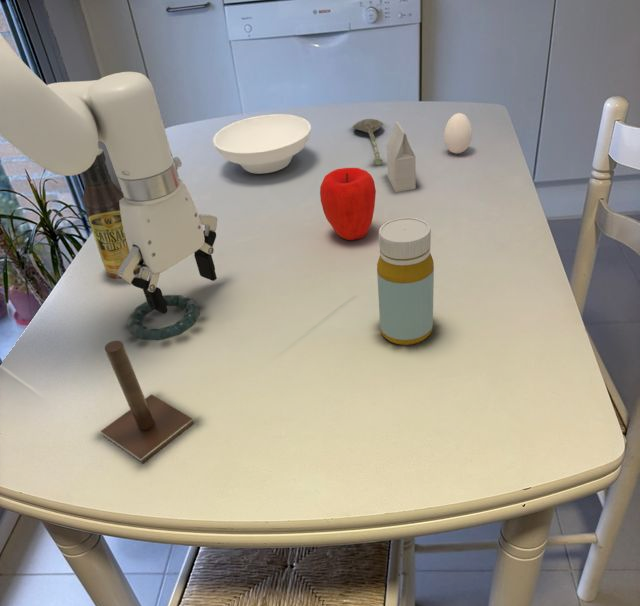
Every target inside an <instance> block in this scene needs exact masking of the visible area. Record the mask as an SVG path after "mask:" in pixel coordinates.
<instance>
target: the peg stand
mask: <svg viewBox="0 0 640 606" xmlns="http://www.w3.org/2000/svg"><path fill="white" fill-rule="evenodd" d="M104 352H105V354H106V356H107V358H108V361H109V363H110V365H111V367H112V370H113V372H114V374H115V376H116V379H117V382H118V384H119V386H120V389H121V391H122V393H123V395H124V398H125V401H126V403H127V405H128V407H129V410H128V411H126V412H125V413H123V414H122V415H121V416H119V417H118V418H117V419H115V420H114V421H112V422H111V423H109V425H107V426H105V427H104V428H103V429H102V430H100V432H101V433H102V437H103V438H105V440H107V441H109V442H111V443H112V444H114V445H115V446H116V447H117V448H119V449H121V450H122V451H124V452H125V453H126V454H127V455H129V456H131V457H132V458H133V459H135V460H137V461H138V462H139V463H141V464H145V463H146V462H148V461H149V460H150V459H152V457H154V456H155V455H157V454H158V453H159V452H161V451H162V450H163V449H164V448H165V447H167V446H168V445H169V444H171V443H172V442H173V441H174V440H176V439H177V438H178V437H179V436H180V435H182V434H183V433H185V432H186V431H187V430H188V429H189V428H191V427H192V426H193V425H195V422H194V420H193V418H192V417H190V416H189V415H187V414H185V413H184V412H183V411H181V410H178V409H177V408H175V407H173V406H172V405H171V404H168V403H167V402H165V401H163V400H162V399H160V398H158V397H156V395H153V394H150V395H148V396H147V397H146V398H145V395H144V392H143V390H142V388H141V385H140V383H139V380H138V378H137V375H136V373H135V370H134V368H133V366H132V364H131V363H132V362H131V359H130V357H129V355H128V352H127V350H126V348H125V345H124V342H122V341H121V340H112V341H109V342H107V343H106V344H105V346H104ZM138 458H139V459H138ZM140 459H141V460H140Z"/></svg>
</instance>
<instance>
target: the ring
mask: <svg viewBox="0 0 640 606" xmlns="http://www.w3.org/2000/svg"><path fill="white" fill-rule="evenodd" d="M162 295H163V297H164V300H165V303H166V306H167V307H177V308H180V309H182V310H183V311H184V313H185V314H184V315H183V317H182V318H181V319H179V320H178V321H176V322H175V323H173V324H171V325H167V326H164V327H160V328H157V327H156V328H155V327H154V328H151V327H147V326H145V325H143V321H144V319H145V317H146V316H147V315H148V314H149V313H151V312H152V311H155V310H154V309H152V308H150V306H149V305H148V302H147V300H145V301H144V302H142V303H141V304H139V305H138V306H136V307H135V308H134V309H133V311H132V312H131V314H130V315H129V317H128V318H127V326H128V331H129V334H130V335H132V336H134V337H135V338H138V339H140V340H142V341H163V340H166V339H169V338H173V337H178V336H180V335H182V334H183V333H184V332H186V331H187V330H189V329H190V328H192V327H193V326H195V325H196V323H197V320H198V319H199V317H200V315H201V312H200V309H199V307H198V304H197V302H196V301H195V300H194V299H191V298H189V297H187V296H185V295H181V294H162Z"/></svg>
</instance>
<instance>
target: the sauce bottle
mask: <svg viewBox="0 0 640 606" xmlns="http://www.w3.org/2000/svg"><path fill="white" fill-rule="evenodd" d="M106 161H107V160H106V155H105V152H104V150H103V148H100V147H98V153H97V156H96V159H95V161H94V162H93V164H92V165H91V167H89V168H88V169H87V170H86V171H84V172H82V173H81V175H82V177H83V182H84V190H83V195H82V202H83V205H84V208H85V211H86V214H87V220H88V223H89V226H90V229H91V231H92V232H91V233H92V234H93V237H94V238H93V239H94V241H95V243H96V247H97V249H98V253H99V255H100V258H101V261H102V265H103V268H104V270H105V271H106V274H107V276H109V277H110V278H112V279H123V278H122V277H121V276H119V275H118V273H117V271H118V269H119V267H120V266H121V264H122V263H123V261H124V260H125V258H126V257H127V255H128V254H129V252H130V251H129V248H128V245H127V241H126V237H125V234H124V230H123V225H122V220H121V214H120V205H119V201H120V200H121V199H122V198H124V196H123V193H122V191H121V188H119V187H118V186H117V185H116V184H115V183H114V182H113V181H112V176H111V174H110V173H109V171H108V169H109V168H108V166H107V163H106ZM140 268H141V267H137V266H136V267H135V269H134V272H133V273H134V275H136V274H139V272H140Z"/></svg>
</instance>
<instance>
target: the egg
mask: <svg viewBox="0 0 640 606" xmlns="http://www.w3.org/2000/svg"><path fill="white" fill-rule="evenodd" d="M472 138H473V127H472V124H471V121H470V120H469V117H468V116H466V115H465V114H464V113H461V112H458V113H455V114H453V115H452V116H451V117H450V118H449V120H448V121H447V123H446V125H445V128H444V133H443V140H444V144H445V147H446V148H447V150H449V152H450V153H452V154H455V155H459V154H462V153H464V152H465V151H466V150H467V149H468V148H469V146H470V145H471V142H472Z"/></svg>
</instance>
